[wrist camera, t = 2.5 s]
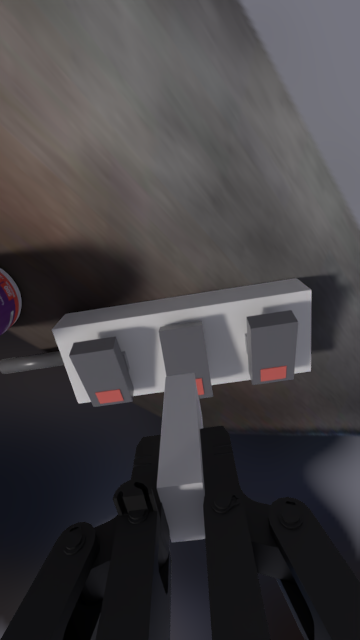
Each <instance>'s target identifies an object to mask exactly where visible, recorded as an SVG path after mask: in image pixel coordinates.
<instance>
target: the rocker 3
mask: <svg viewBox="0 0 360 640" xmlns="http://www.w3.org/2000/svg"><path fill="white" fill-rule="evenodd" d="M246 320H247V346H248V372H249V375H250V378H251V382H252V385H256V384H263V383H270V382H277V381H285V380H292V379H294V369H295V357H296V344H297V332H298V320H297V319H296V317H295V315H294V314H293V312H292V310H288V311H281V312H274V313H268V314H261V315H254V316H248V317H246Z"/></svg>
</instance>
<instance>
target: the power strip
mask: <svg viewBox="0 0 360 640" xmlns="http://www.w3.org/2000/svg"><path fill="white" fill-rule="evenodd" d="M288 310H292V312H293V314H294V315H295V317H296V319H297V320H298V332H297V344H296V357H295V369H294V373H301V372H309V371H311V289H310V288H309V287H307V286H306V285H305V284H303V283H302V282H301V281H300V280H298V279H297V278H293V279H286V280H280V281H274V282H267V283H261V284H254V285H248V286H241V287H235V288H229V289H222V290H216V291H209V292H203V293H196V294H190V295H184V296H177V297H171V298H164V299H158V300H151V301H145V302H139V303H132V304H126V305H119V306H113V307H107V308H100V309H94V310H87V311H81V312H74V313H68V314H65V315H64V316H63V317H62V318H61V319H60V321H59V322H58V323H57V324H56V325H55V326H54V328H53V329H52V331H53V334H54V337H55V340H56V343H57V345H58V348H59V351H57V352H50V353H43V354H36V355H30V356H23V357H16V358H10V359H3V360H1V361H0V371H1V372H2V373H3V374H6V373H13V372H19V371H27V370H34V369H40V368H47V367H54V366H61V365H65V368H66V370H67V373H68V376H69V379H70V382H71V384H72V387H73V390H74V393H75V396H76V398H77V401H78V403H86V402H91V400H90V398H89V396H88V394H87V392H86V390H85V388H84V386H83V384H82V382H81V380H80V378H79V376H78V373H77V371H76V369H75V367H74V365H73V363H72V361H71V359H70V357H69V354H70V351H71V349H72V346H73V343H75V342H81V341H88V340H95V339H101V338H108V337H115V336H116V338H117V341H118V344H119V347H120V350H121V352H122V355H123V358H124V361H125V364H126V367H127V369H128V372H129V375H130V378H131V381H132V384H133V386H134V393H133V396H136V395H143V394H151V393H158V392H164V391H165V379H166V377H167V376H166V371H165V365H164V359H163V354H162V348H161V342H160V337H159V329H160V327H163V326H169V325H176V324H183V323H189V322H196V321H202V325H203V332H204V339H205V345H206V352H207V359H208V365H209V372H210V379H211V385H215V384H222V383H230V382H237V381H244V380H251V378H250V375H249V372H248V346H247V320H246V317H248V316H254V315H261V314H268V313H274V312H281V311H288Z"/></svg>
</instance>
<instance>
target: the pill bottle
mask: <svg viewBox="0 0 360 640" xmlns="http://www.w3.org/2000/svg"><path fill="white" fill-rule="evenodd" d="M21 307H22V299H21V294H20V291H19V289H18V287H17V285H16V283H15V281H14V280H13V279H12V278H11V277H10V275H9V274H8V273H6V272H5V271H4V270H3V269H1V268H0V335H2V334H3V333H4V332H5V331H6V330H8V329H9V328H10V327H11V326H12V325H13V324H14V323H15V322H16V321H17V319H18V317H19V315H20V312H21Z"/></svg>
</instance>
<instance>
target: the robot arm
mask: <svg viewBox="0 0 360 640" xmlns="http://www.w3.org/2000/svg"><path fill="white" fill-rule="evenodd" d="M113 501H114V504H115V506H116V509H117V512H118V515H117V516H116V517H115V518H114V519H112V520H110V521H108V522H106V523H104V524H102V525H100V526H97V527H95V528H93V527H92V525H91V524H89V523H86V522H80V523H76V524H74V525H71V526H70V527H68V528H67V529H66V530H65V531H63V532H62V534H61V535H60V536H59V538H58V539H57V541H56V542H55V544H54V546H53V548H52V550H51V551H50V553H49V555H48V557H47V558H46V560H45V562H44V564H43V565H42V568H41V569H40V571H39V573H38V574H37V576H36V578H35V580H34V581H33V583H32V585H31V587H30V589H29V590H28V592H27V594H26V596H25V597H24V599H23V601H22V603H21V605H20V606H19V608H18V610H17V612H16V613H15V615H14V617H13V619H12V620H11V622H10V624H9V626H8V628H7V629H6V631H5V633H4V634H3V636H2V638H1V640H170V613H171V611H170V610H171V566H172V564H171V563H172V560H171V553H170V550H169V535H170V538H171V542H180V541H189V540H198V539H205V542H206V556H207V571H208V586H209V600H210V614H211V629H212V640H271V639H270V634H269V629H268V624H267V619H266V614H265V609H264V604H263V599H262V594H261V589H260V584H259V579H258V574H257V573H260V574H263V575H267V576H271V577H274V578H276V580H277V581H278V584H279V586H280V588H281V590H282V592H283V595H284V597H285V599H286V601H287V603H288V605H289V607H290V610H291V612H292V614H293V616H294V618H295V620H296V622H297V624H298V626H299V629H300V631H301V633H302V635H303V637H304V639H305V640H360V582H359V580H358V579H357V578H356V576H355V574H354V573H353V571H352V570H351V569H350V567H349V566H348V564H347V563H346V561H345V560H344V559H343V557H342V556H341V554H340V553H339V551H338V550H337V548H336V547H335V545H334V544H333V542H332V541H331V539H330V538H329V536H328V535H327V534H326V532H325V531H324V529H323V528H322V526H321V525H320V523H319V522H318V520H317V519H316V518H315V516H314V515H313V513H312V512H311V510H310V509H309V508H308V507H307V506H306V505H305V504H304V503H303V502H301V501H299V500H297V499H294V498H289V497H286V498H279V499H277V500H276V501H274V502H273V503H272V505H268V504H263V503H258V502H255V501H253V500H251V499H250V498H248V497H247V496H246V495H245V494H244V493H243V492H242V490H241V488H240V485H239V481H238V476H237V471H236V466H235V461H234V456H233V451H232V447H231V441H230V436H229V433H228V432H227V431H226V429H225V428H224V427H223V426H217V427H210V428H203V422H202V413H201V408H200V402H199V397H198V391H197V385H196V380H195V374H194V373H189V374H182V375H175V376H168V377H166V379H165V391H164V403H163V415H162V428H161V435H157V436H149V437H143V438H142V439H141V441H140V442H139V444H138V445H137V448H136V454H135V459H134V467H133V471H132V477H131V480H129V481H127V482H126V483H124V484H122V485H121V486H120V487H119V488H118V489H117V491H116V492H115V494H114V497H113Z"/></svg>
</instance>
